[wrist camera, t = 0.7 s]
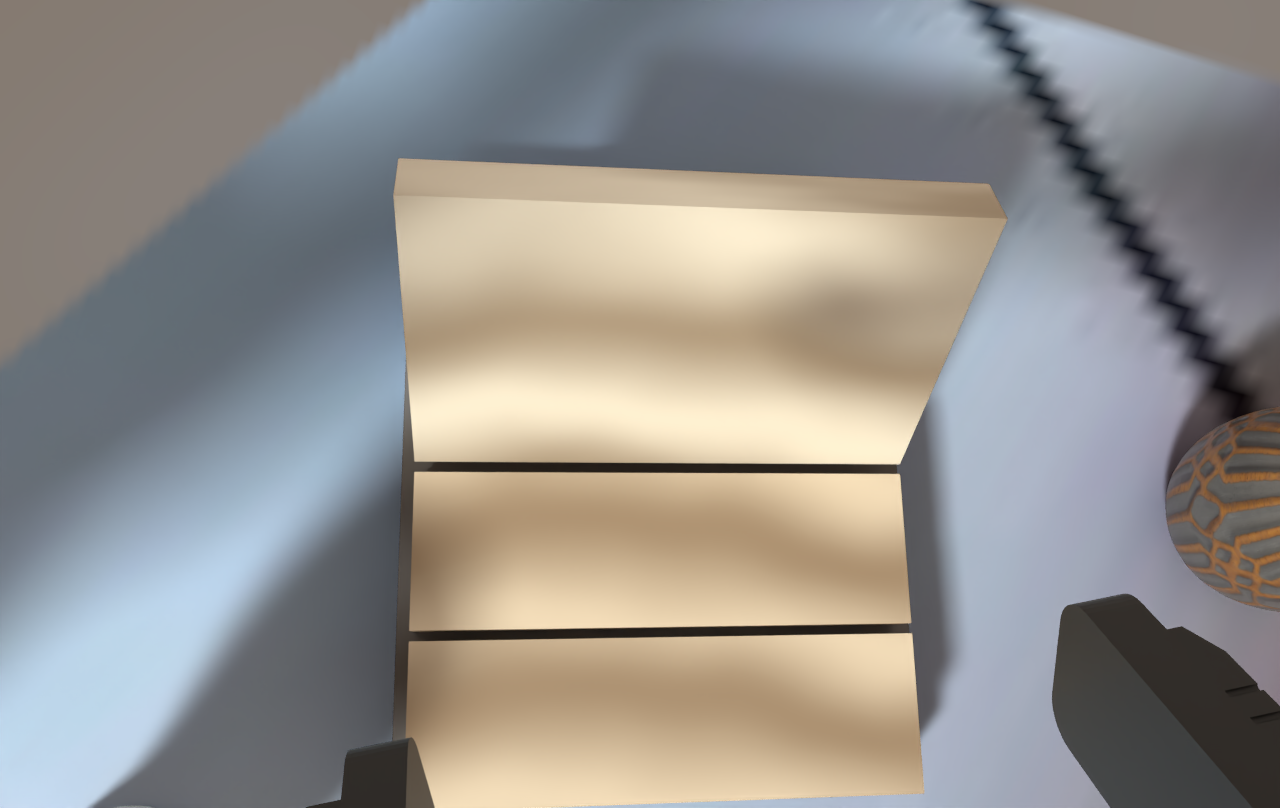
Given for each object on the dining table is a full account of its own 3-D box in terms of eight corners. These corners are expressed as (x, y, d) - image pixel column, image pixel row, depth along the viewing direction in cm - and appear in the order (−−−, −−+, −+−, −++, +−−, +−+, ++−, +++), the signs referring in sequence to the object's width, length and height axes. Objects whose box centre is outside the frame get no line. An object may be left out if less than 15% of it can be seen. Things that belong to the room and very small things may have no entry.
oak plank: (888, 428, 34) (899, 464, 33) (417, 423, 32) (414, 461, 31) (989, 183, 27) (1007, 218, 26) (398, 158, 25) (393, 195, 24)
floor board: (886, 782, 35) (941, 799, 31) (399, 799, 33) (384, 821, 29) (848, 225, 40) (891, 173, 35) (419, 210, 38) (408, 152, 33)
